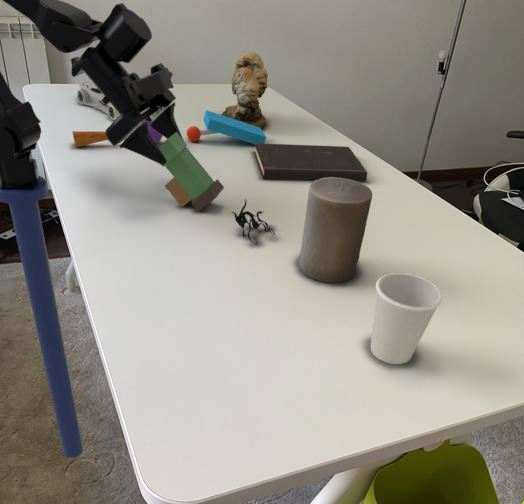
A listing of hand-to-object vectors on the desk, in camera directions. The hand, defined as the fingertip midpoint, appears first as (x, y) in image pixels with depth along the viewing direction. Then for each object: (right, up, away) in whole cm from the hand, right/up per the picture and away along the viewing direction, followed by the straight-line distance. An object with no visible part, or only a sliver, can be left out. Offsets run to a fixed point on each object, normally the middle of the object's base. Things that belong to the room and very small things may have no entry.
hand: (174, 155), depth 100 cm
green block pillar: (+2, -8, +5) cm, 9 cm away
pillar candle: (+27, -22, -9) cm, 36 cm away
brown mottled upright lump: (+11, +26, +48) cm, 55 cm away
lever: (+7, +15, +34) cm, 38 cm away
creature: (+15, -15, -2) cm, 21 cm away
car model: (-25, +30, +48) cm, 62 cm away
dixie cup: (+34, -36, -25) cm, 55 cm away
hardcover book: (+26, +6, +26) cm, 37 cm away
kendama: (-17, +12, +27) cm, 34 cm away
